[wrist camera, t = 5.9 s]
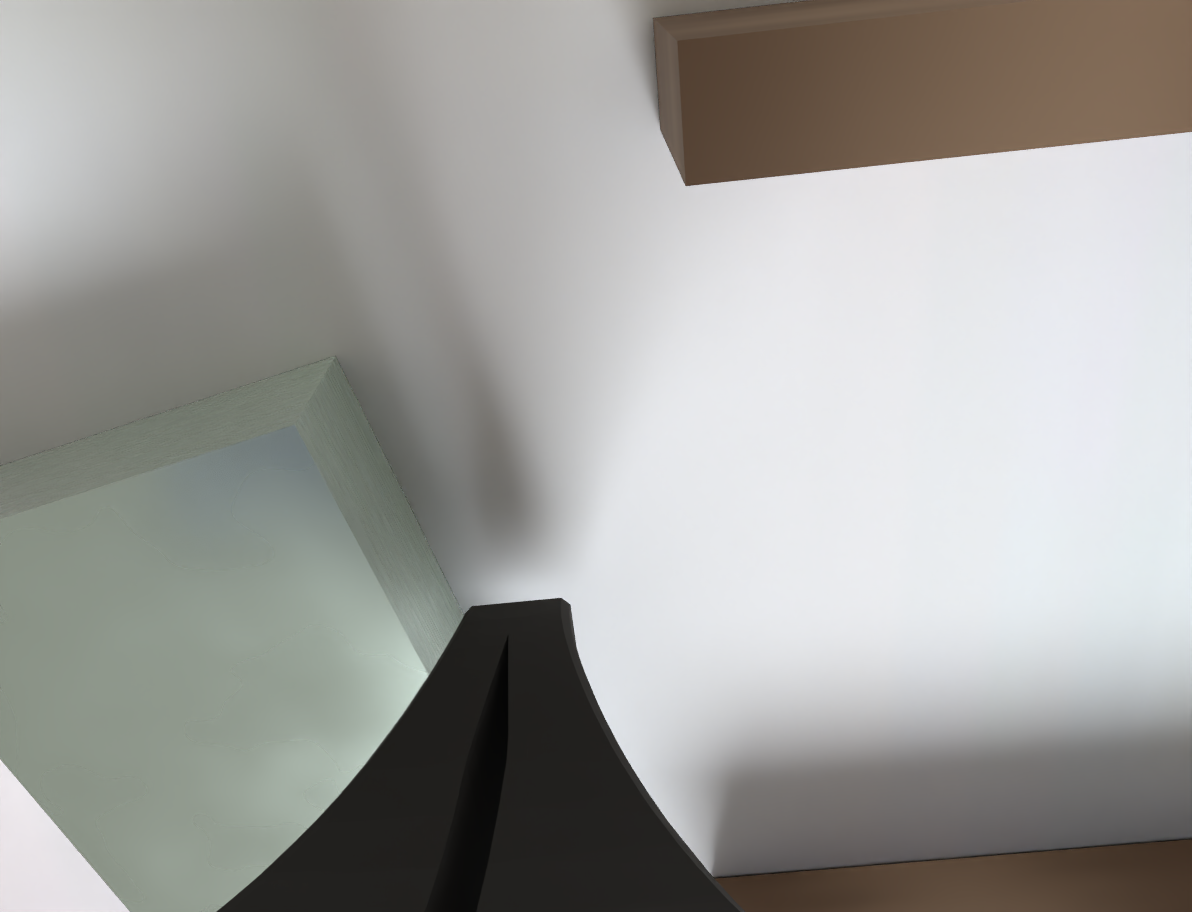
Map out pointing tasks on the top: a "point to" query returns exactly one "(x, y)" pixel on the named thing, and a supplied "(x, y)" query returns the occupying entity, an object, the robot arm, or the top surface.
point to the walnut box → (916, 133)
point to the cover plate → (210, 630)
